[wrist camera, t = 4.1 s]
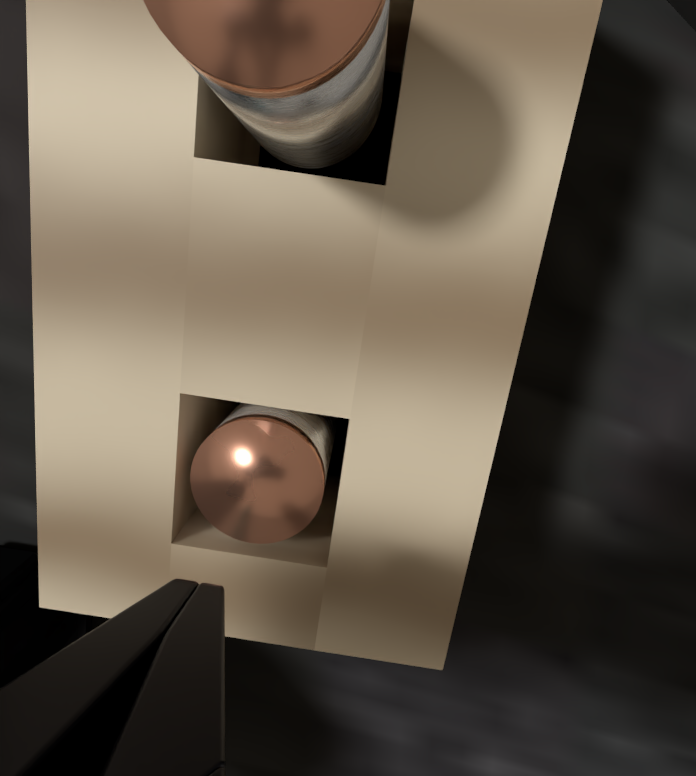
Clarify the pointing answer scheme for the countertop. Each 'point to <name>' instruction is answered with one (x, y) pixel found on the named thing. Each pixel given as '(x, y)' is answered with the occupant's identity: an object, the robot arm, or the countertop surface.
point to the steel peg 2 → (263, 472)
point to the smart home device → (686, 10)
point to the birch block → (285, 313)
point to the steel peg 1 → (288, 68)
